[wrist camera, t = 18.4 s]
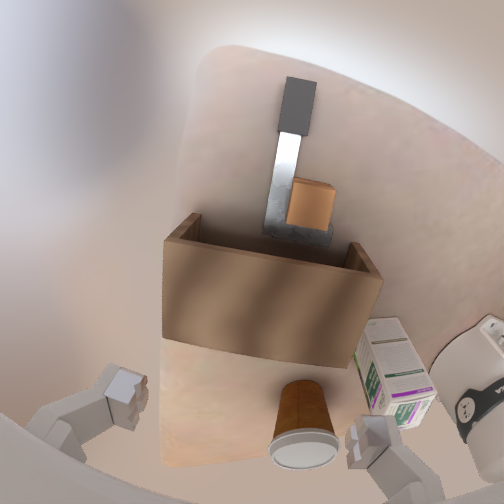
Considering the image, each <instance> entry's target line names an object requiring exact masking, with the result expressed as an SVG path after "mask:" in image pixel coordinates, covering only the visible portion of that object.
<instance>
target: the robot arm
mask: <svg viewBox="0 0 504 504" xmlns="http://www.w3.org/2000/svg"><path fill="white" fill-rule="evenodd" d="M429 376H430V378H431V380H432V382H433V384H434V386H435V388H436V390H437V392H438V393H437V395H436V396H435V398H436V399H437V401H438V402H442V404H443V405H444V407H445V409H446V410H447V412H448V414H449V415H450V417H451V419H452V420H453V422H454V423H455V424H457V428H458V430H459V434H460V437H461V438H462V439H463V441H464V443H465V444H468V447H469V449H470V452H471V454H472V457H473V459H474V462H475V465H476V467H477V470H478V473H479V476H480V477H481V478H482V479H483V480H484V481H486V482H488V483H495V484H493V485H490V486H487V487H485V488H482V489H479V490H476V491H474V492H470V493H467V494H465V495H461V496H458V497H455V498H452V499H448V500H445V496H444V492H443V488H442V484H441V481H440V477H439V476H438V475H437V474H436V473H435V472H434V471H433V470H432V469H430V468H429V467H428V466H427V465H426V464H425V463H424V462H423V461H422V460H421V459H420V458H419V457H418V456H417V455H415V454H414V453H413V452H412V451H411V450H410V449H409V448H408V447H407V446H403V443H402V440H401V436H400V432H399V429H398V426H397V422H396V419H395V417H394V416H393V415H358V416H357V417H356V419H355V424H354V425H352V426H350V427H349V429H348V430H347V433H346V437H345V447H346V448H347V449H348V450H349V453H348V455H347V464H348V469H367V471H368V473H369V474H370V475H371V477H372V478H373V479H374V481H375V482H376V484H377V485H378V486H379V488H380V489H381V490H382V492H383V493H384V494H385V495H386V497H387V498H388V501H386V502H385V503H383V504H504V321H503V320H501V319H499V318H497V317H495V316H493V315H487V316H486V317H485V318H483V319H482V320H481V321H480V322H479V323H478V324H477V325H476V326H475V327H473V328H472V329H470V330H468V331H466V332H465V333H463V334H461V335H460V336H458V337H457V338H456V339H454V340H453V341H452V342H451V343H450V344H449V345H448V346H447V347H446V348H445V349H444V350H443V351H442V352H441V353H440V354H439V356H438V357H437V359H436V360H435V362H434V363H433V365H432V367H431V370H430V373H429ZM147 382H148V381H147V376H145V375H142V374H140V373H137V372H134V371H131V370H128V369H126V368H124V367H120V366H118V365H115V364H113V363H110V364H109V365H107V367H106V368H105V370H104V371H103V372H102V374H101V375H100V377H99V378H98V380H97V381H96V382H95V384H94V386H93V387H92V388H91V390H89V389H85V390H83V391H80V392H78V393H75V394H73V395H70V396H68V397H65V398H63V399H60V400H57V401H55V402H52V403H50V404H47V405H44V406H42V407H40V408H39V409H38V411H37V412H36V413H35V415H34V416H33V417H32V419H31V420H30V421H29V423H28V424H27V425H26V427H25V428H22V427H21V426H19V425H18V424H16V423H15V422H13V421H12V420H11V419H9V418H8V417H6V416H5V415H4V414H3V413H1V412H0V504H197V503H193V502H189V501H185V500H181V499H177V498H173V497H170V496H167V495H163V494H160V493H157V492H154V491H151V490H148V489H145V488H142V487H139V486H136V485H133V484H131V483H128V482H126V481H123V480H120V479H118V478H116V477H113V476H111V475H108V474H106V473H104V472H101V471H99V470H97V469H95V468H93V467H91V466H88V465H86V464H85V461H86V460H87V457H86V455H85V453H84V451H83V449H82V447H81V445H82V444H84V443H85V442H87V441H89V440H90V439H92V438H94V437H96V436H97V435H99V434H100V433H102V432H104V431H105V430H107V429H109V428H110V427H112V426H113V424H114V425H117V426H120V427H122V428H125V429H128V430H131V431H134V430H135V427H136V425H137V423H138V421H139V413H140V412H142V411H144V408H145V406H146V403H147V400H148V389H147V387H146V384H147Z"/></svg>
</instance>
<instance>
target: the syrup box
mask: <svg viewBox="0 0 504 504" xmlns="http://www.w3.org/2000/svg"><path fill="white" fill-rule="evenodd" d="M353 355H354V359H355V362H356V365H357V369H358V372H359V375H360V379H361V382H362V386H363V389H364V393H365V397H366V400H367V404H368V407H369V411H370V415H393V416H394V417H395V419H396V422H397V426H398V429H399V431H401V430H405V429H409V428H413V427H416V426H420V424H421V421H422V419H423V417H424V416H425V414H426V413H427V411H428V410H429V408H430V406H431V404H432V402H433V400H434V398H435V396H436V395H437V393H438V392H437V390H436V388H435V386H434V384H433V382H432V380H431V378H430V376H429V374H428V372H427V370H426V368H425V366H424V364H423V362H422V361H421V359H420V357H419V355H418V353H417V351H416V350H415V348H414V346H413V344H412V342H411V341H410V339H409V337H408V335H407V333H406V332H405V330H404V328H403V326H402V325H401V323H400V321H399V319H398V318H397V317H390V318H375V319H369V320H368V322H367V324H366V327H365V329H364V331H363V334H362V336H361V338H360V341H359V343H358V345H357V347H356V349H355V352H354V354H353Z"/></svg>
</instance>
